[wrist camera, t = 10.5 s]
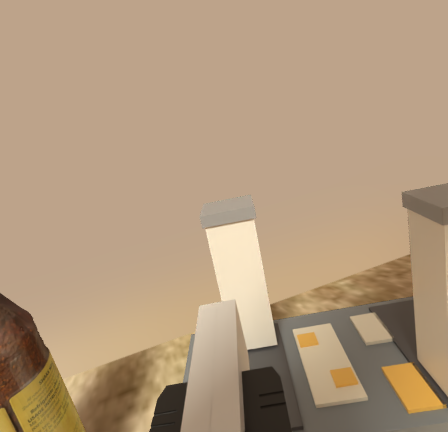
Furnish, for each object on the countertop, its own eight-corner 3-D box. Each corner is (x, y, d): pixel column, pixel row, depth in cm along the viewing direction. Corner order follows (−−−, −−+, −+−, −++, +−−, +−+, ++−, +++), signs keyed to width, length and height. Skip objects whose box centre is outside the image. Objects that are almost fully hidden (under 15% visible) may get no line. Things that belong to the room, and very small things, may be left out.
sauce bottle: (87, 443, 27) (-4, 208, 22) (117, 498, 23) (9, 215, 18) (-6, 509, 24) (-141, 244, 19) (7, 593, 19) (-172, 266, 14)
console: (416, 313, 35) (415, 291, 34) (536, 435, 21) (538, 402, 20) (195, 350, 36) (190, 330, 35) (176, 486, 23) (166, 457, 22)
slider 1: (273, 318, 34) (250, 194, 31) (280, 345, 30) (254, 205, 27) (231, 325, 35) (203, 204, 31) (231, 353, 30) (199, 216, 27)
